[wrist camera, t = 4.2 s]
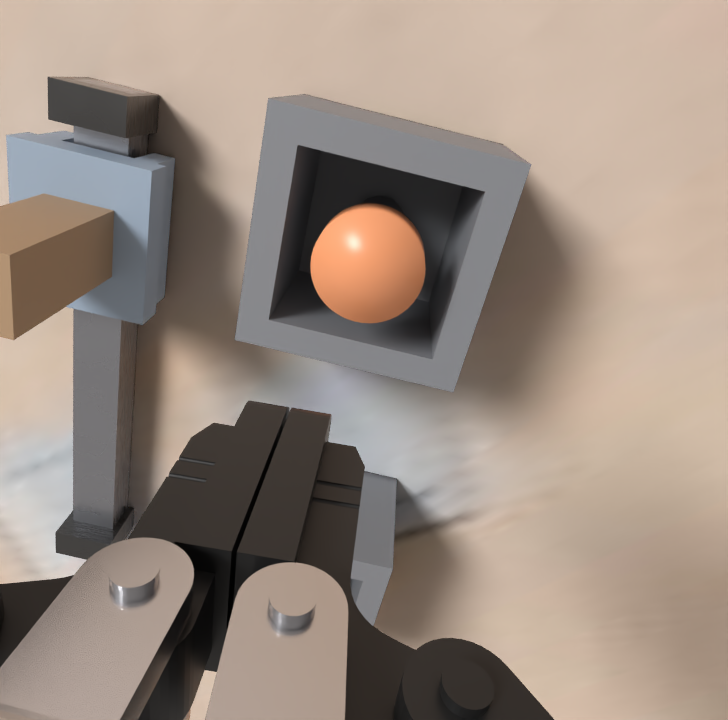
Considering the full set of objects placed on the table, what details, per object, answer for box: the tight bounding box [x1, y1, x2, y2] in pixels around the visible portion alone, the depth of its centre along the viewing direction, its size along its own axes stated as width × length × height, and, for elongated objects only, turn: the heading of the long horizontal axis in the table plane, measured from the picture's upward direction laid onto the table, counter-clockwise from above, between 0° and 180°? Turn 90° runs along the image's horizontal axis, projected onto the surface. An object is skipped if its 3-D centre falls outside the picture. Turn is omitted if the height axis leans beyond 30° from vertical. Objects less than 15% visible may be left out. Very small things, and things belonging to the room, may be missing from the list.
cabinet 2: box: [350, 471, 397, 626], centre depth 33 cm, size 9×9×7 cm
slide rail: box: [48, 77, 159, 560], centre depth 30 cm, size 3×26×3 cm, turn 167°
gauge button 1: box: [310, 196, 425, 323], centre depth 23 cm, size 4×4×8 cm
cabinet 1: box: [235, 94, 531, 392], centre depth 24 cm, size 9×9×7 cm
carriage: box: [0, 131, 175, 340], centre depth 23 cm, size 6×7×11 cm
